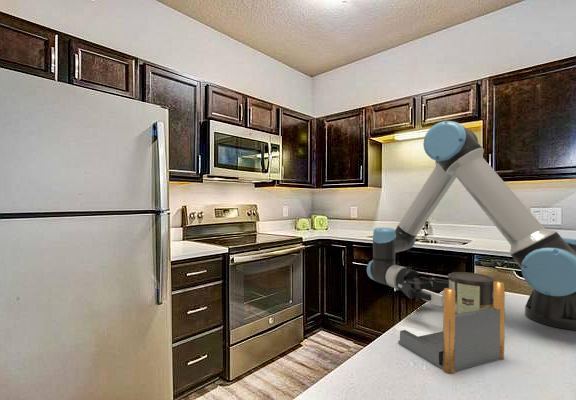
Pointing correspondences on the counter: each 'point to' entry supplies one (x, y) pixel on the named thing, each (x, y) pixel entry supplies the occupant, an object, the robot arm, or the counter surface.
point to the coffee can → (471, 291)
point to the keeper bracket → (463, 335)
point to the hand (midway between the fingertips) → (462, 298)
